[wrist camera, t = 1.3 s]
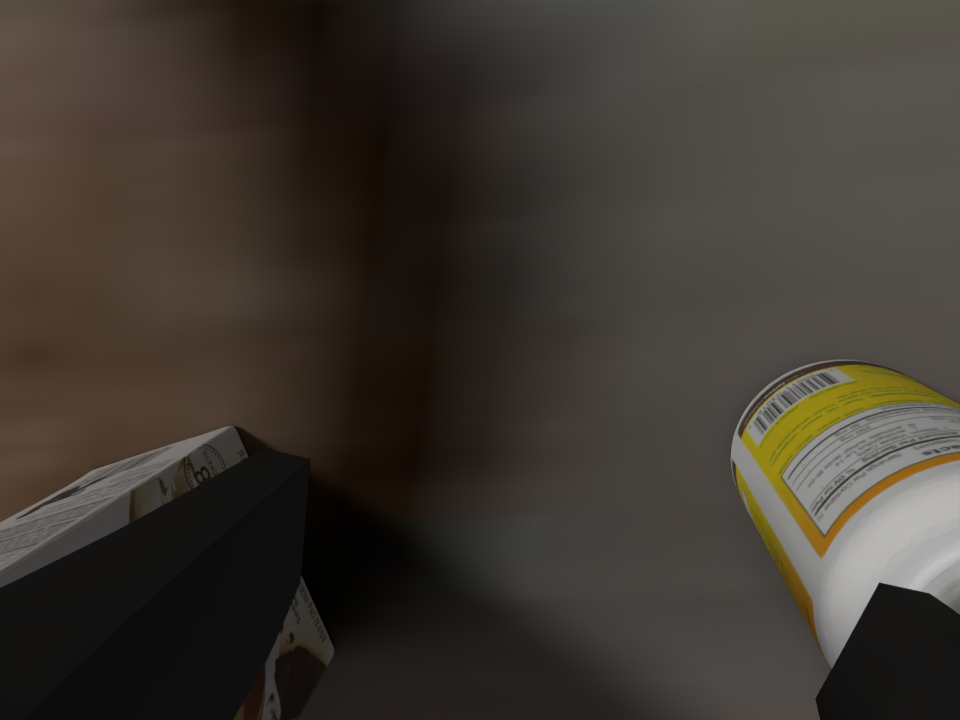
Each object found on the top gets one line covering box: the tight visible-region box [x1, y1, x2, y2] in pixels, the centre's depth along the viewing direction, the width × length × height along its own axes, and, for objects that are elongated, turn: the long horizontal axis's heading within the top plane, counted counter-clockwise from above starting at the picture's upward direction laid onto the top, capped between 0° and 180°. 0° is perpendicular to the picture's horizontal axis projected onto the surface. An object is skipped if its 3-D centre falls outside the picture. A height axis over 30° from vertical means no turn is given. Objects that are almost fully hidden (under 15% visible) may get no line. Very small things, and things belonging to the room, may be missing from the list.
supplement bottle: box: [731, 359, 960, 669], centre depth 13 cm, size 6×6×10 cm
